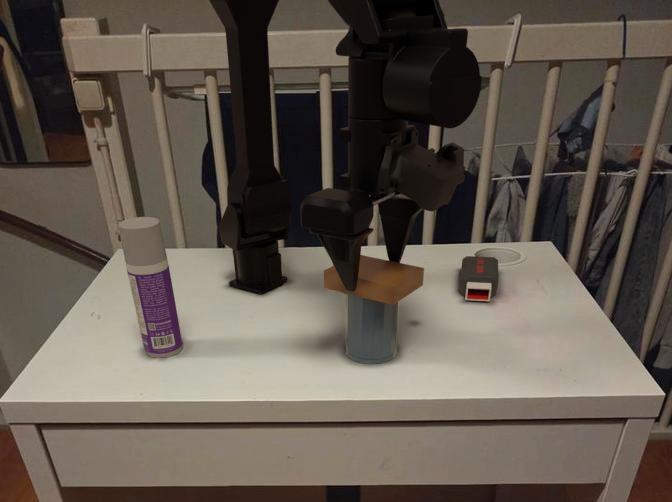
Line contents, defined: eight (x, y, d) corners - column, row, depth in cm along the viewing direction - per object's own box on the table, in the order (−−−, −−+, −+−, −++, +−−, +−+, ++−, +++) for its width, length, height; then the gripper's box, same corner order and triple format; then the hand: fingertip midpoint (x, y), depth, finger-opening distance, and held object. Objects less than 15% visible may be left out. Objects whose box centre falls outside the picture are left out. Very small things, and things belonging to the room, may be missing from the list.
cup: (336, 355, 74) (335, 290, 69) (363, 337, 78) (364, 273, 73) (379, 368, 71) (382, 301, 66) (405, 348, 75) (409, 283, 70)
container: (189, 343, 78) (168, 217, 68) (171, 360, 74) (146, 230, 65) (157, 338, 79) (132, 215, 70) (137, 355, 76) (108, 227, 66)
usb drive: (496, 272, 94) (498, 253, 92) (496, 303, 84) (499, 283, 83) (461, 270, 95) (463, 252, 93) (457, 301, 85) (460, 281, 84)
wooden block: (323, 288, 69) (323, 270, 68) (355, 270, 73) (355, 253, 72) (393, 305, 65) (394, 286, 64) (423, 285, 69) (424, 267, 68)
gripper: (403, 139, 49) (394, 323, 59) (497, 106, 61) (476, 265, 71) (292, 128, 55) (300, 299, 64) (399, 100, 66) (392, 248, 76)
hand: (373, 277), depth 69 cm, fingers open, 9 cm apart
